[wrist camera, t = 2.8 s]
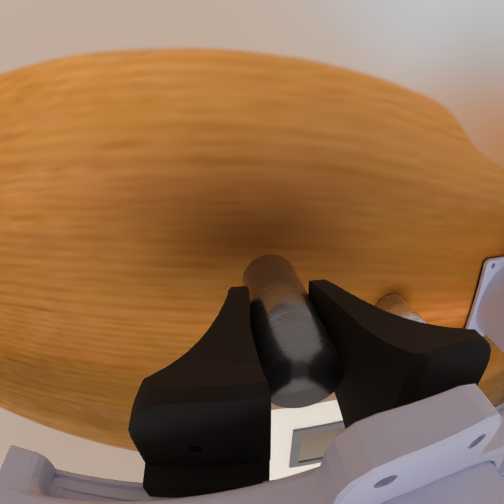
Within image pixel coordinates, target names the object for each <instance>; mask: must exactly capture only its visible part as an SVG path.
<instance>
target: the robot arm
mask: <svg viewBox="0 0 504 504" xmlns="http://www.w3.org/2000/svg"><path fill="white" fill-rule="evenodd" d="M308 296H309V298H310V300H311V302H312V304H313V305H314V307H315V309H316V311H317V313H318V315H319V317H320V319H321V321H322V323H323V325H324V327H325V328H326V330H327V332H328V334H329V336H330V338H331V340H332V342H333V344H334V346H335V348H336V350H337V352H338V354H339V356H340V358H341V360H342V362H343V364H344V369H345V371H344V377H343V380H342V382H341V384H340V385H339V387H338V388H337V389H336V390H335V391H334V393H335V395H336V399H337V402H338V405H339V408H340V411H341V415H342V418H343V422H344V426H345V430H343V431H342V432H340V433H339V434H337V435H336V436H335V438H334V439H333V441H332V442H331V443H330V445H329V446H328V448H327V449H326V450H325V452H324V455H323V459H322V462H321V465H320V466H319V467H316V468H313V469H310V470H307V471H304V472H301V473H298V474H294V475H291V476H288V477H284V478H280V479H277V480H270V481H269V478H270V460H271V396H270V391H269V386H268V382H267V379H266V377H265V375H264V372H263V369H262V367H261V364H260V361H259V358H258V354H257V351H256V347H255V344H254V340H253V336H252V331H251V314H250V293H249V289H248V287H247V286H243V287H231V288H230V289H229V290H228V295H227V298H226V300H225V302H224V305H223V306H222V308H221V310H220V312H219V314H218V316H217V317H216V319H215V320H214V322H213V323H212V325H211V327H210V328H209V329H208V331H207V332H206V333H205V334H204V336H203V337H202V338H201V339H200V340H199V341H198V342H197V343H196V344H195V345H194V346H193V347H192V348H191V349H190V350H189V351H188V352H187V353H186V354H184V355H183V356H182V357H180V358H179V359H178V360H176V361H175V362H173V363H172V364H170V365H169V366H167V367H166V368H164V369H162V370H160V371H158V372H156V373H155V374H153V375H151V376H149V377H147V378H145V379H144V380H143V381H142V384H141V386H140V388H139V391H138V393H137V395H136V398H135V400H134V404H133V407H132V412H131V417H130V422H129V428H128V430H129V433H130V436H131V439H132V440H133V442H134V444H135V446H136V448H137V449H138V451H139V453H140V455H141V456H142V458H143V460H144V461H145V471H144V479H143V483H137V482H127V481H118V480H111V479H104V478H98V477H92V476H86V475H81V474H76V473H71V472H67V471H62V470H57V469H55V468H54V466H53V465H52V463H51V462H50V461H49V460H48V459H47V458H46V457H44V456H43V455H41V454H39V453H36V452H33V451H30V450H26V449H23V448H19V447H16V446H10V448H9V451H8V453H7V455H6V458H5V460H4V463H3V465H2V467H1V470H0V504H504V403H502V404H501V405H499V406H497V407H496V408H495V407H494V406H493V405H492V404H491V402H490V401H489V400H488V399H487V397H486V396H485V395H484V394H483V392H482V391H481V390H480V389H479V387H478V386H477V385H478V383H479V381H480V379H481V377H482V375H483V373H484V371H485V369H486V367H487V364H488V362H489V359H490V352H491V349H490V344H489V343H488V342H487V341H486V340H485V339H484V338H483V336H485V335H486V336H487V337H488V338H489V339H490V340H491V341H492V342H493V343H494V344H495V345H496V346H497V347H498V348H499V349H500V350H501V351H502V352H503V353H504V257H498V258H491V259H487V260H486V261H485V262H484V265H483V269H482V273H481V277H480V281H479V285H478V289H477V292H476V296H475V299H474V302H473V306H472V309H471V312H470V315H469V318H468V321H467V324H466V327H465V329H462V328H449V327H442V326H436V325H431V324H426V323H421V322H418V321H414V320H410V319H407V318H403V317H400V316H398V315H395V314H392V313H389V312H387V311H384V310H382V309H380V308H378V307H375V306H373V305H371V304H369V303H367V302H365V301H363V300H361V299H359V298H358V297H356V296H354V295H352V294H350V293H349V292H347V291H345V290H343V289H342V288H340V287H338V286H336V285H335V284H333V283H331V282H329V281H327V280H324V279H323V280H313V281H309V295H308Z"/></svg>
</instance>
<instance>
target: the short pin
mask: <svg viewBox="0 0 504 504" xmlns="http://www.w3.org/2000/svg"><path fill="white" fill-rule="evenodd" d="M375 307H378V308H380V309H382V310H384V311H387V312H389V313H392V314H395V315H398V316H400V317H403V318H407V319H410V320H414V321H418V322H421V323H426V322H425V321H424V320H423V319H422V318H421V317H420V316H419V315H418V314H417V313H416V312H415V311H414V310H413V308H412V307H411V306H410V305H409V304H408V303H407V302H406V301H405V300H404V299H403V298H402V297H401V296H400V295H398V294H396V293H391V294H387V295H385V296H384V297H382V298H381V299H380V300H379V301H378V302H377V304H376V306H375ZM426 324H427V323H426Z"/></svg>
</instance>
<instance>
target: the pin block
mask: <svg viewBox="0 0 504 504" xmlns="http://www.w3.org/2000/svg"><path fill="white" fill-rule="evenodd" d="M343 430H345V426H344V422H343V418H342V415H341V411H340V408H339V405H338V402H337V399H336V395H335V393H334V392H333V393H332V394H331V395H330V396H328V397H327V398H325V399H324V400H322V401H320V402H318V403H316V404H313V405H310V406H307V407H302V408H284V407H279V406H277V405H274V404H272V403H271V460H270V478H269V481H270V480H277V479H280V478H284V477H288V476H291V475H294V474H298V473H301V472H304V471H307V470H310V469H313V468H316V467H319V466H320V465H321V462H322V459H323V455H324V452H325V450H326V449H327V448H328V446H329V445H330V443H331V442H332V441H333V439H334V438H335V436H336V435H337V434H339V433H340V432H342V431H343Z"/></svg>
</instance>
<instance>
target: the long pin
mask: <svg viewBox="0 0 504 504" xmlns="http://www.w3.org/2000/svg"><path fill="white" fill-rule="evenodd" d="M243 286H247V287H248V289H249V293H250V314H251V331H252V336H253V340H254V344H255V347H256V351H257V354H258V358H259V361H260V364H261V367H262V369H263V372H264V375H265V377H266V379H267V382H268V386H269V391H270V396H271V403H272V404H274V405H277V406H279V407H284V408H302V407H307V406H310V405H313V404H316V403H318V402H320V401H322V400H324V399H325V398H327V397H328V396H330V395H331V394H332V393H333V392H334V391H335V390H336V389H337V388H338V387H339V385H340V384H341V382H342V380H343V377H344V371H345V369H344V364H343V362H342V360H341V358H340V356H339V354H338V352H337V350H336V348H335V346H334V344H333V342H332V340H331V338H330V336H329V334H328V332H327V330H326V328H325V327H324V325H323V323H322V321H321V319H320V317H319V315H318V313H317V311H316V309H315V307H314V305H313V304H312V302H311V300H310V298H309V296H308V294H307V292H306V290H305V288H304V287H303V285H302V283H301V281H300V279H299V277H298V275H297V273H296V272H295V270H294V268H293V266H292V265H291V263H290V262H289V261H288V260H286V259H285V258H283V257H281V256H278V255H265V256H261V257H259V258H257V259H255V260H254V261H252V262H251V263H250V264H249V265H248V267H247V268H246V270H245V272H244V275H243Z"/></svg>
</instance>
